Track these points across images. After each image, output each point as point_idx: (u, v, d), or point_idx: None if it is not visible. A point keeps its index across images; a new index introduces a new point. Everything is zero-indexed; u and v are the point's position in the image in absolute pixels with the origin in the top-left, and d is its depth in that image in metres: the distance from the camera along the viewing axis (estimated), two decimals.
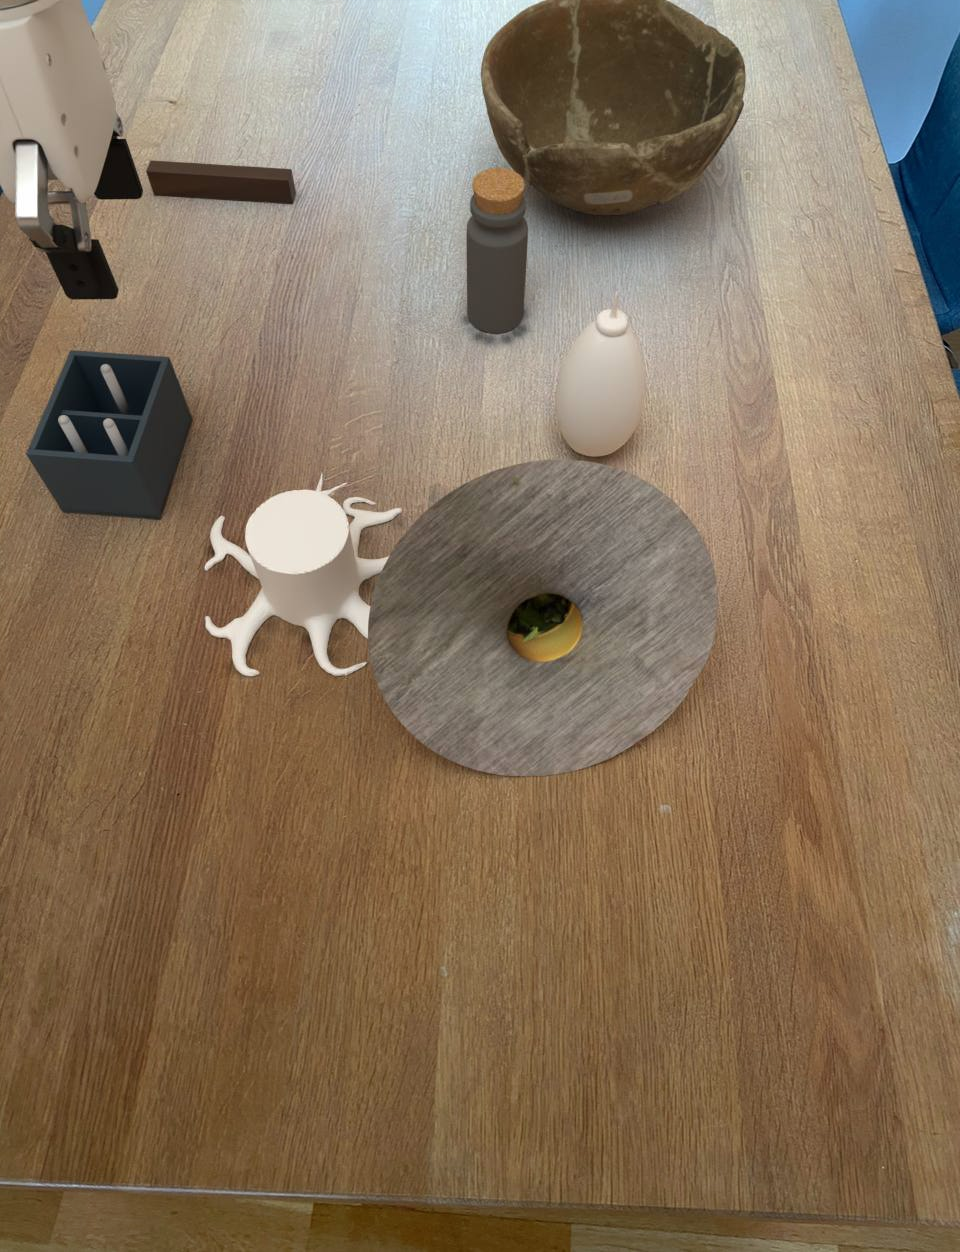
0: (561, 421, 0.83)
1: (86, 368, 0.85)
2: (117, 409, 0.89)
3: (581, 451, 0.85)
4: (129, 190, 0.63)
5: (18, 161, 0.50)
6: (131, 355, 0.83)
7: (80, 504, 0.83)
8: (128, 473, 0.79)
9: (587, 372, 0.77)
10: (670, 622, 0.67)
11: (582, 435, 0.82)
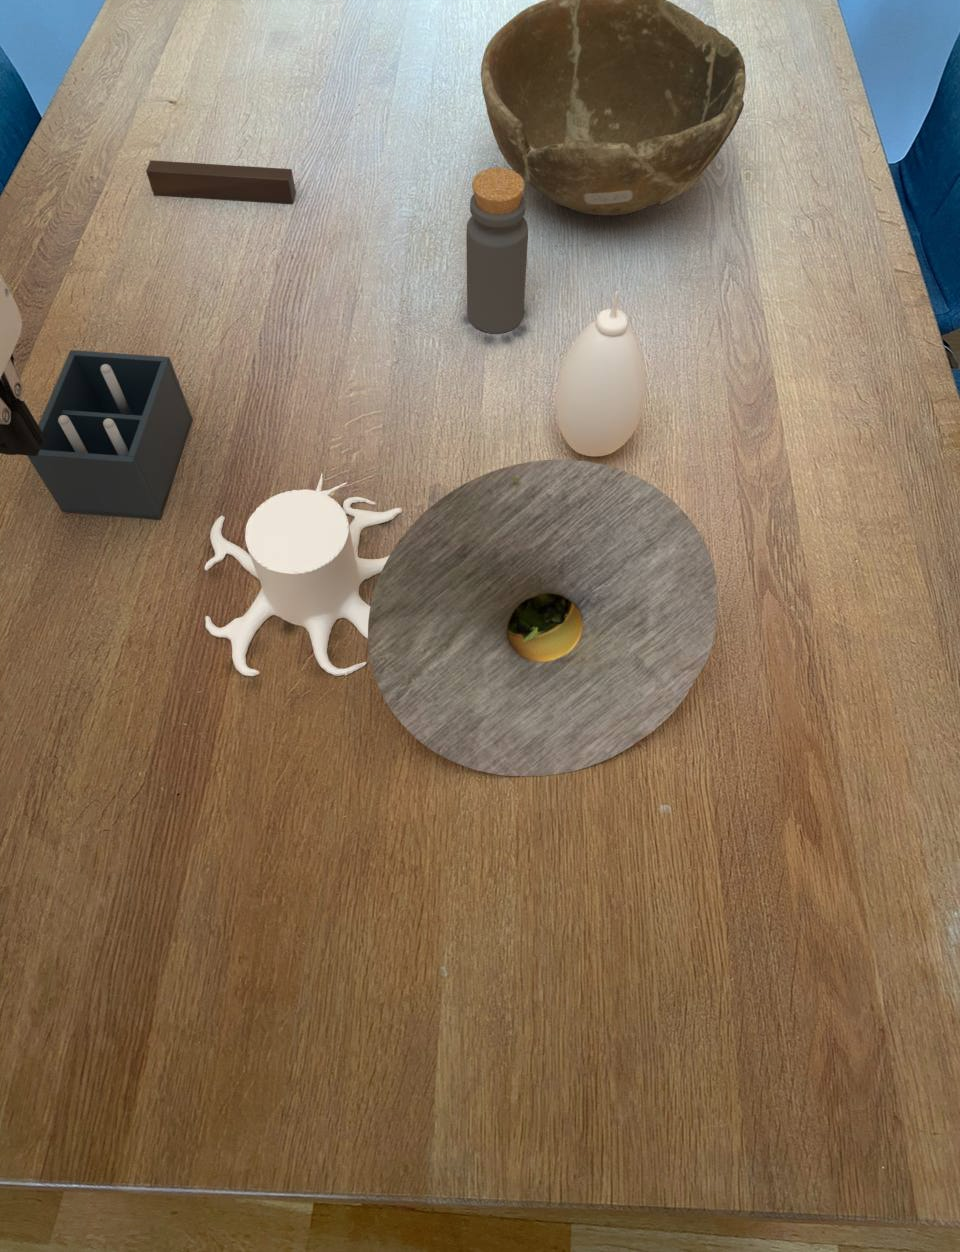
0: (561, 421, 0.83)
1: (86, 368, 0.85)
2: (117, 409, 0.89)
3: (581, 451, 0.85)
4: None
5: None
6: (131, 355, 0.83)
7: (80, 504, 0.83)
8: (128, 473, 0.79)
9: (587, 371, 0.77)
10: (670, 622, 0.67)
11: (582, 435, 0.82)
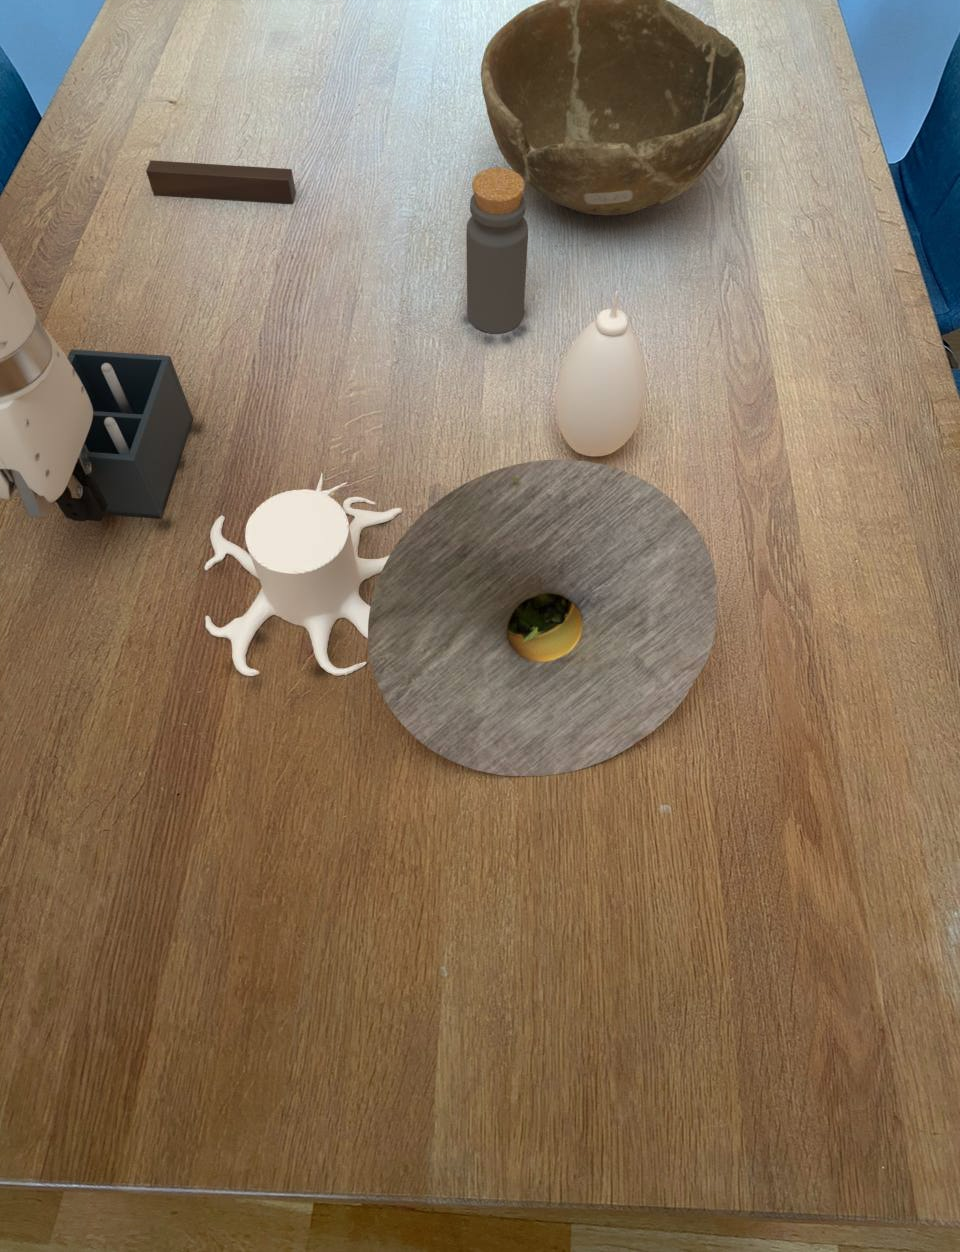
0: (561, 421, 0.83)
1: (87, 367, 0.85)
2: (118, 408, 0.89)
3: (581, 451, 0.85)
4: None
5: (17, 484, 0.69)
6: (132, 354, 0.83)
7: None
8: (129, 472, 0.79)
9: (587, 371, 0.77)
10: (670, 622, 0.67)
11: (582, 435, 0.82)
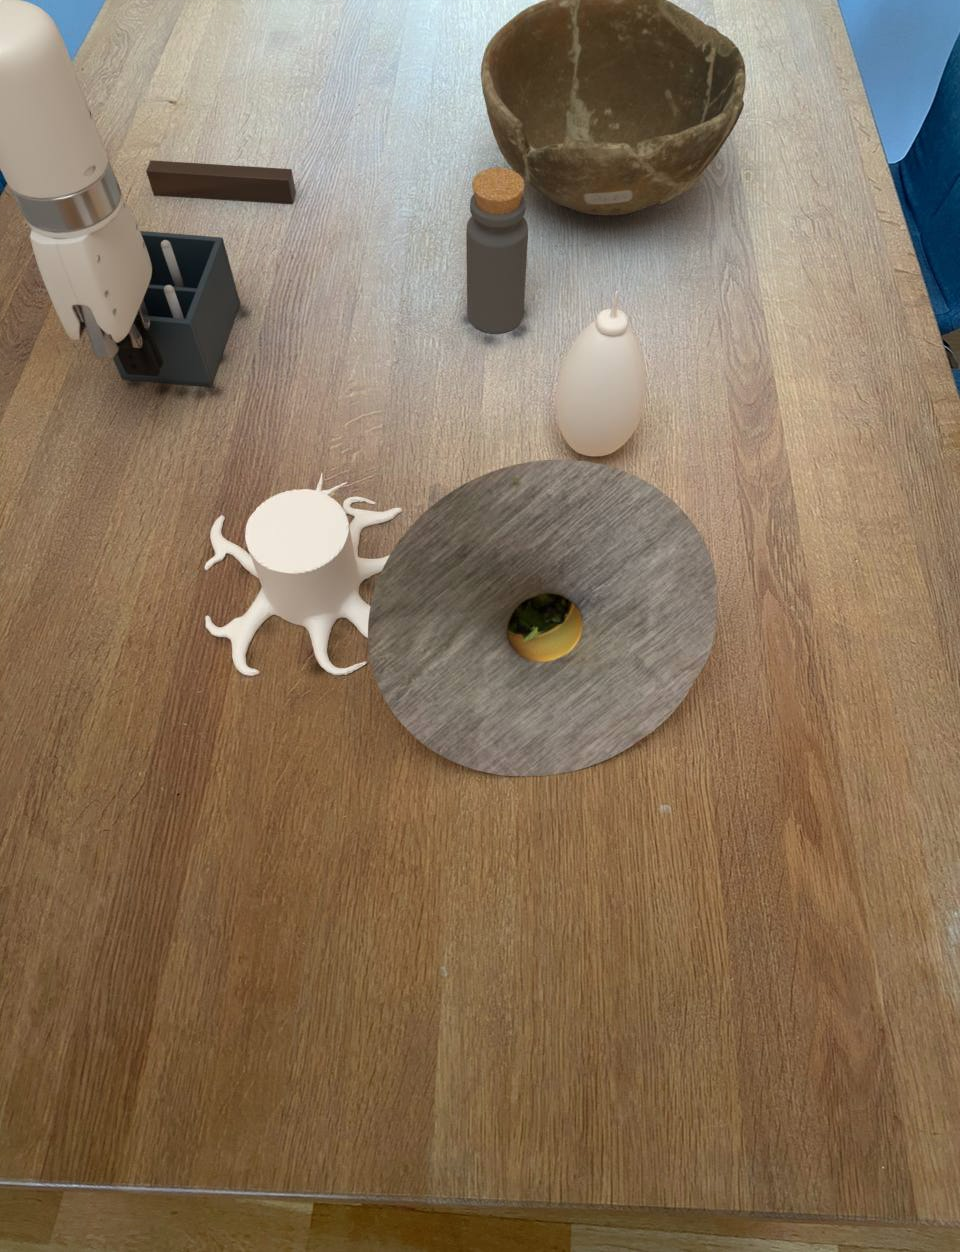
0: (561, 421, 0.83)
1: None
2: None
3: (581, 451, 0.85)
4: None
5: (87, 324, 0.77)
6: (188, 235, 0.91)
7: None
8: (185, 336, 0.87)
9: (587, 371, 0.77)
10: (670, 622, 0.67)
11: (582, 435, 0.82)
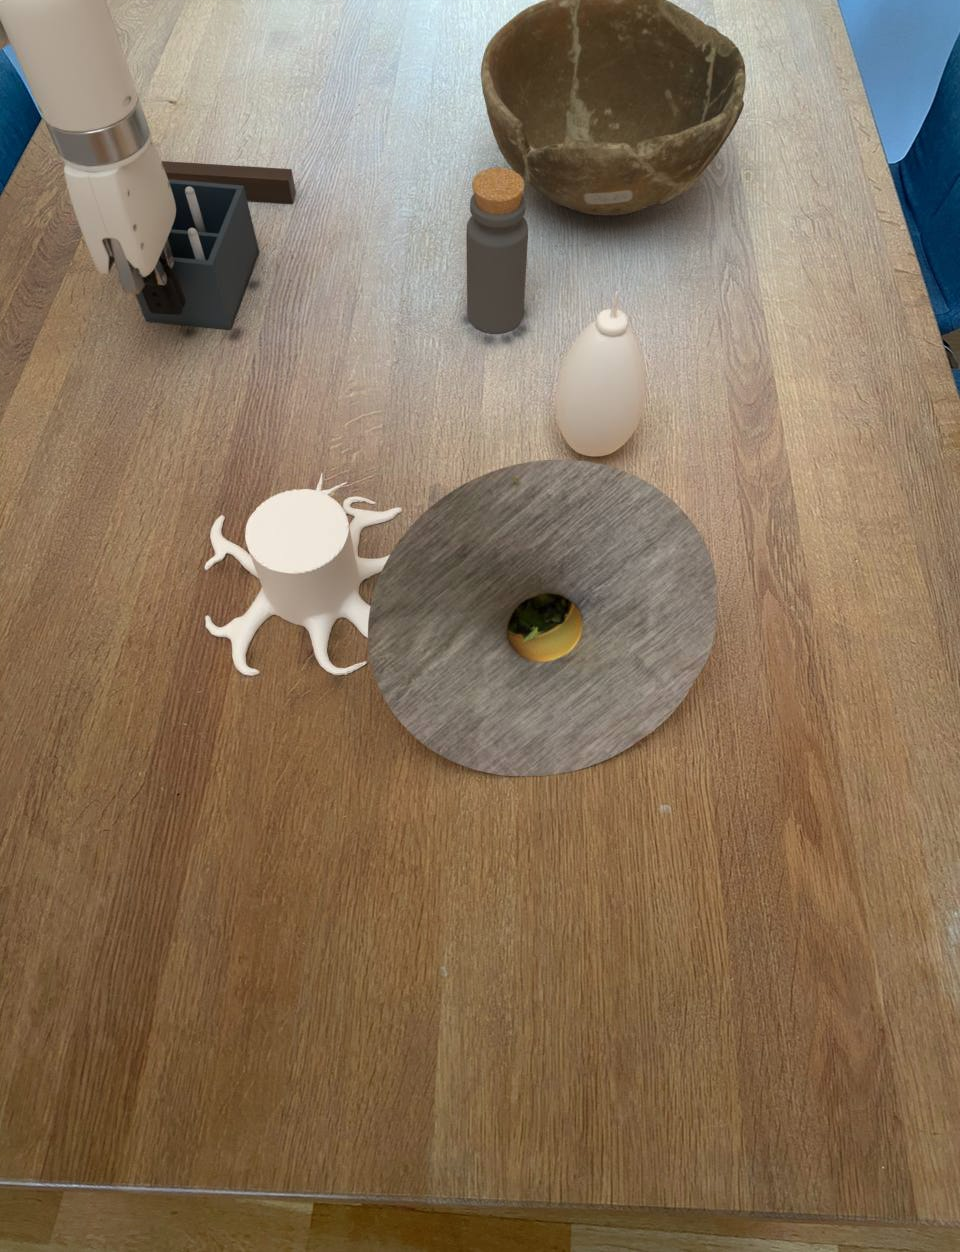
0: (561, 421, 0.83)
1: None
2: None
3: (581, 451, 0.85)
4: None
5: (115, 258, 0.81)
6: (210, 183, 0.95)
7: None
8: (207, 277, 0.91)
9: (587, 371, 0.77)
10: (670, 622, 0.67)
11: (582, 435, 0.82)
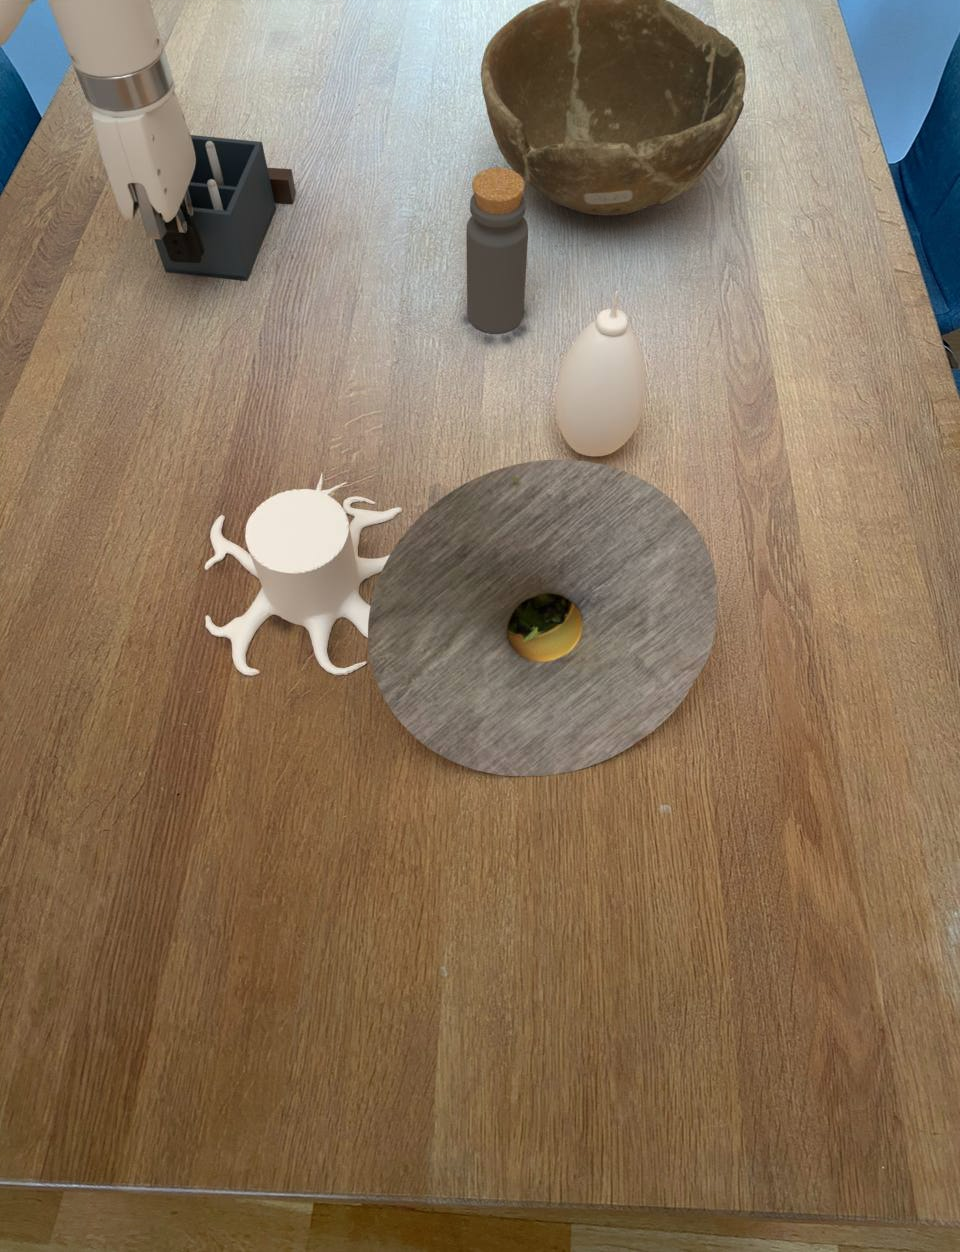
0: (561, 421, 0.83)
1: None
2: None
3: (581, 451, 0.85)
4: None
5: (140, 203, 0.85)
6: (230, 139, 0.99)
7: (181, 263, 0.99)
8: (225, 227, 0.94)
9: (587, 371, 0.77)
10: (670, 622, 0.67)
11: (582, 435, 0.82)
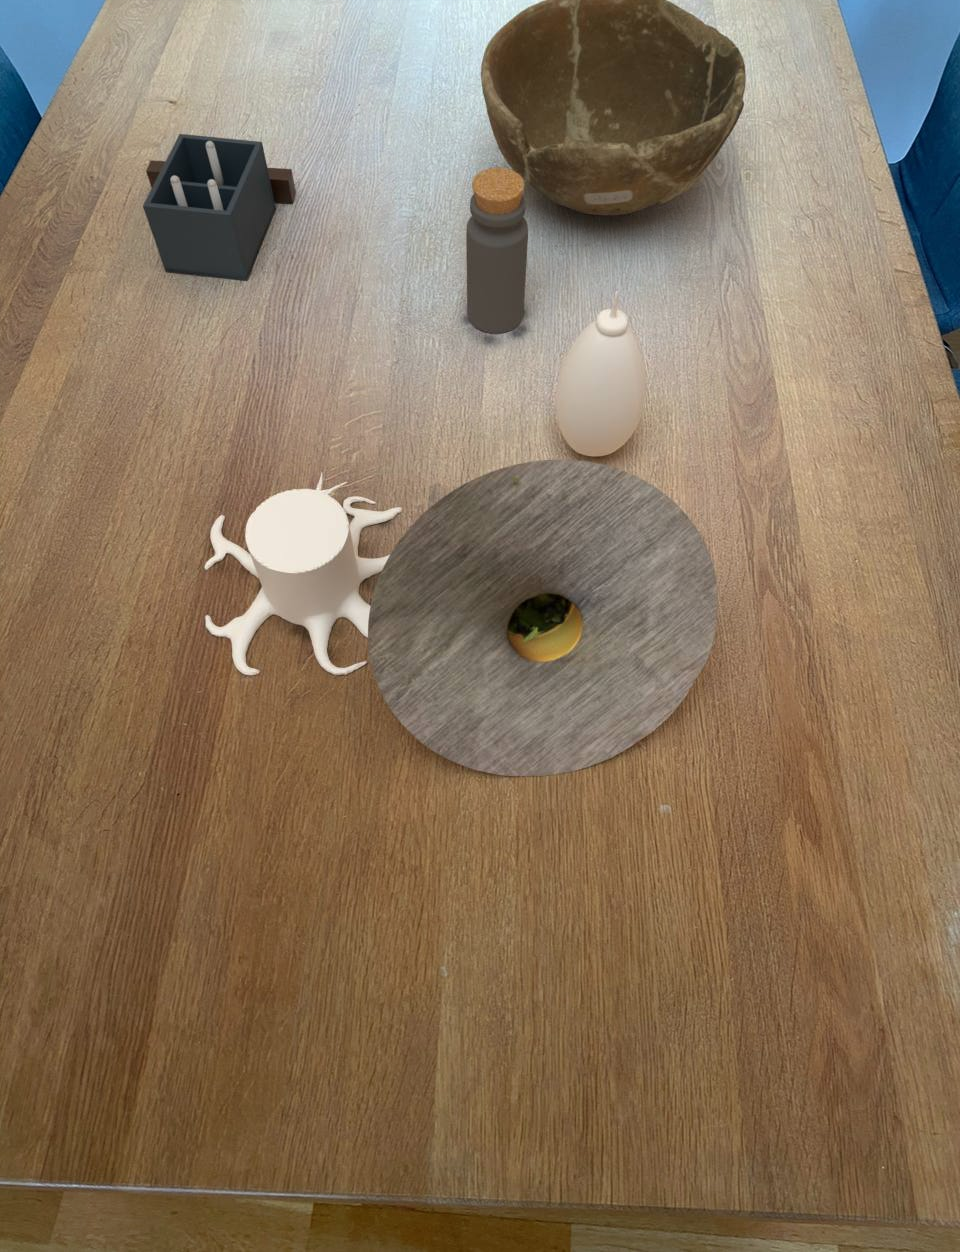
0: (561, 421, 0.83)
1: (191, 151, 1.00)
2: None
3: (581, 451, 0.85)
4: None
5: None
6: (230, 139, 0.99)
7: (181, 263, 0.99)
8: (225, 227, 0.94)
9: (587, 371, 0.77)
10: (670, 622, 0.67)
11: (582, 435, 0.82)
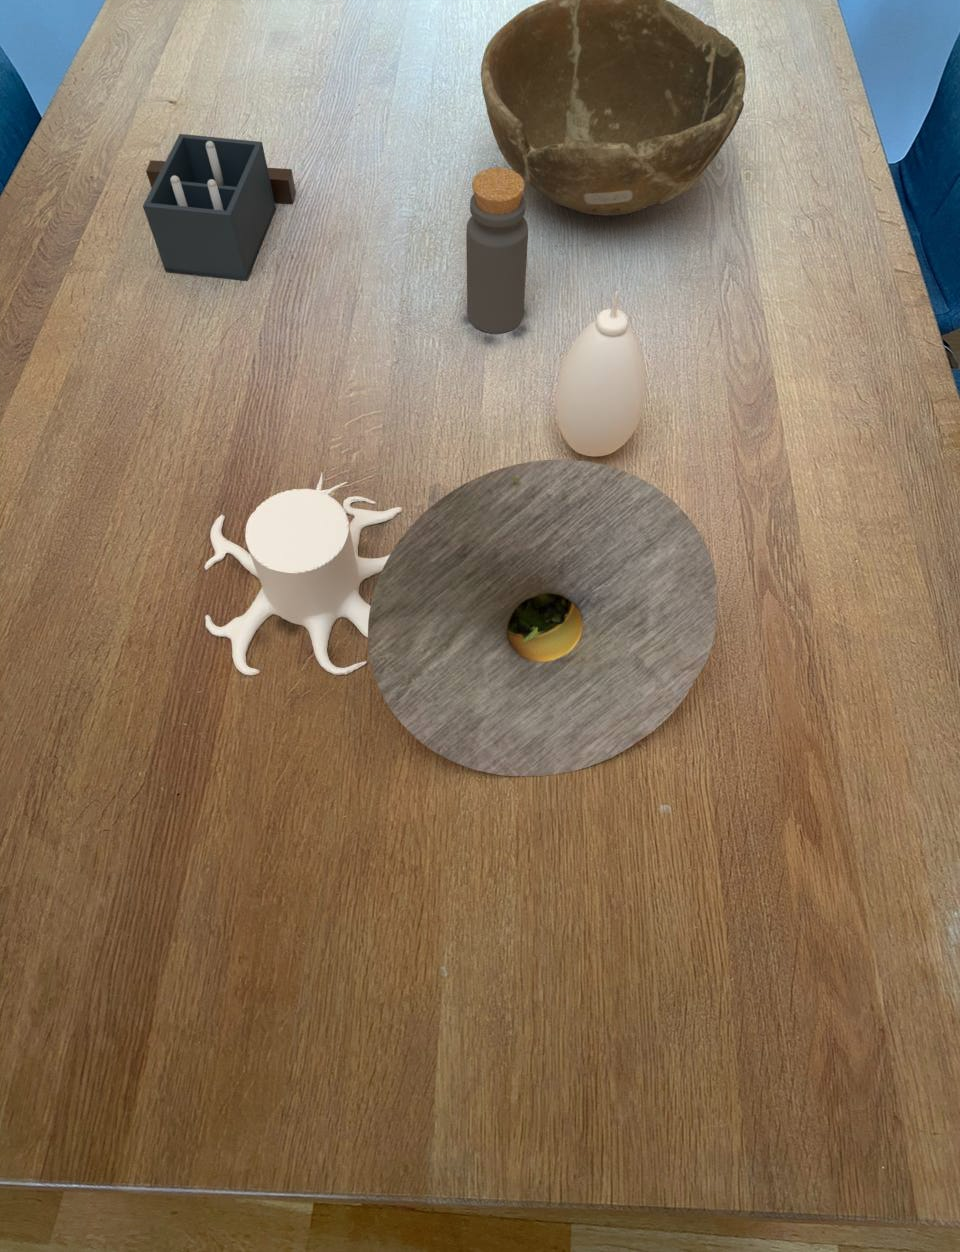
0: (561, 421, 0.83)
1: (191, 151, 1.00)
2: None
3: (581, 451, 0.85)
4: None
5: None
6: (230, 139, 0.99)
7: (181, 263, 0.99)
8: (225, 227, 0.94)
9: (587, 371, 0.77)
10: (670, 622, 0.67)
11: (582, 435, 0.82)
